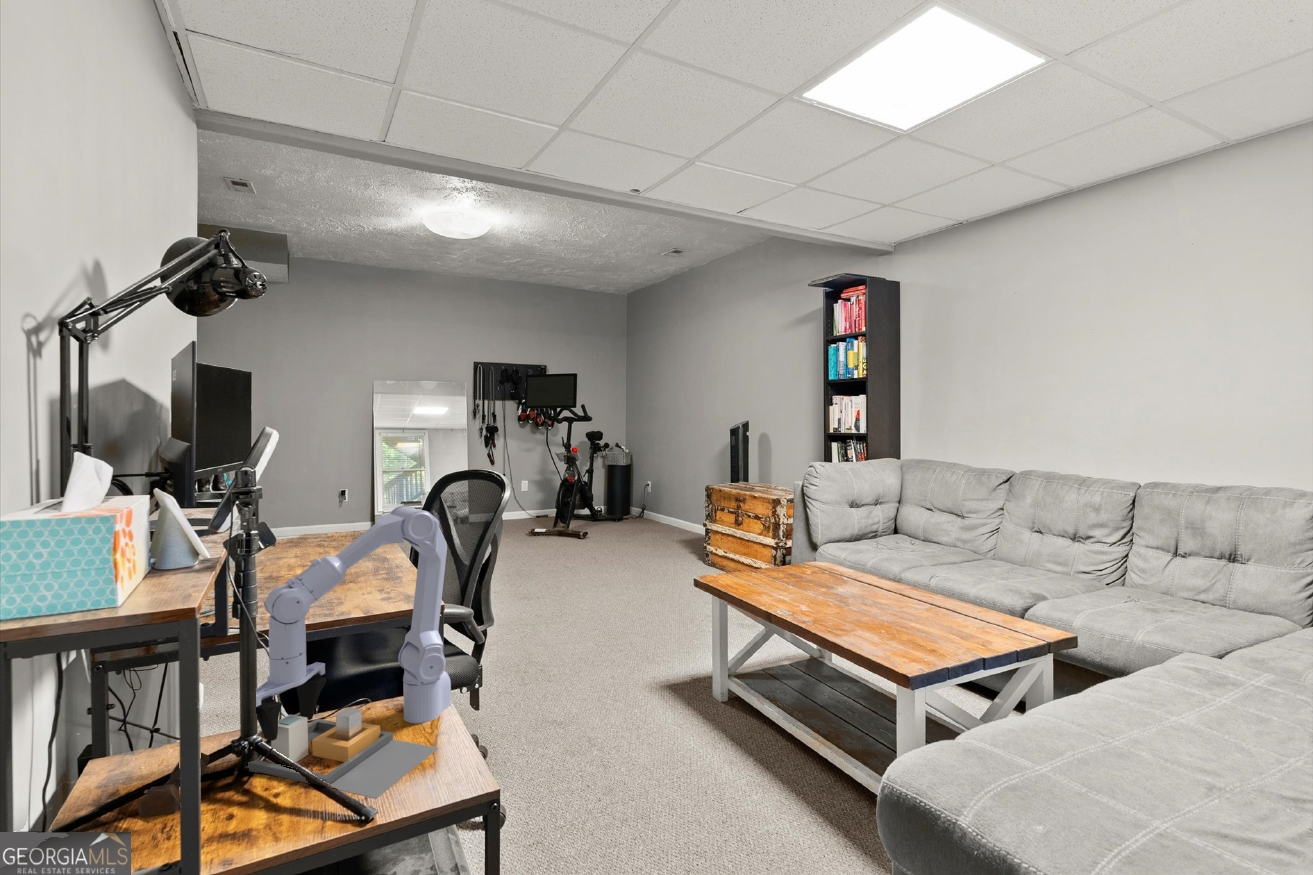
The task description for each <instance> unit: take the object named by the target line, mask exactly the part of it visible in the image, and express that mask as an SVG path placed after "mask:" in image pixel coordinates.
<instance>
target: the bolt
mask: <svg viewBox="0 0 1313 875" xmlns="http://www.w3.org/2000/svg"><path fill="white" fill-rule="evenodd" d="M209 762H210V756H209V754H205V753H204V752H201V777H203V775H204V774H205V772H206V771H207V768H208V767H207V766H208V765H209ZM169 777H170V778H169V779H168V780H167V781H166V782H165V783H164V784H163V785H159V786H157V785H156V786H151V787H150V788H149V789H148V790H147V792H146V793H145V795H144V796H143V797H142V799H141V801H140V802H139V805H138V806H137V812H138V814H139V816H140V817H141V819H145V818H151V817H152V818H153V817H159V816H167V815H174V814H175V813H176V812H177V811H178V809H180V807H179V761H178V762H177V763H176V766H175V767H174V768H173V770H172V772H171V773H170V776H169ZM145 822H146V823H149V824H151V822H150V821H145Z"/></svg>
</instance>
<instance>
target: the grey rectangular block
mask: <svg viewBox="0 0 1313 875" xmlns="http://www.w3.org/2000/svg"><path fill="white" fill-rule="evenodd" d="M362 721H363V720H362V709H360V708H355V707H349V706H347V707H346V708H344V709H342V710H341V711H339V712H338V713H336V714H335V722H336V739H337V740H342V741H347V742H348V741H349V740H351V739H353V738H354V737H356V736H357V735H359V734H360V733H362V723H363V722H362Z"/></svg>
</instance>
